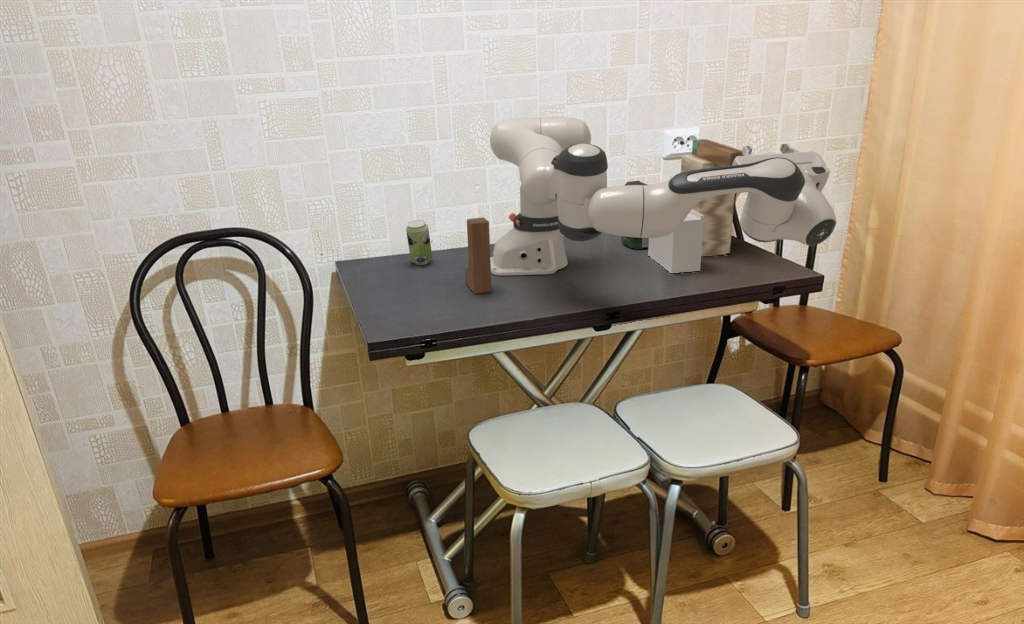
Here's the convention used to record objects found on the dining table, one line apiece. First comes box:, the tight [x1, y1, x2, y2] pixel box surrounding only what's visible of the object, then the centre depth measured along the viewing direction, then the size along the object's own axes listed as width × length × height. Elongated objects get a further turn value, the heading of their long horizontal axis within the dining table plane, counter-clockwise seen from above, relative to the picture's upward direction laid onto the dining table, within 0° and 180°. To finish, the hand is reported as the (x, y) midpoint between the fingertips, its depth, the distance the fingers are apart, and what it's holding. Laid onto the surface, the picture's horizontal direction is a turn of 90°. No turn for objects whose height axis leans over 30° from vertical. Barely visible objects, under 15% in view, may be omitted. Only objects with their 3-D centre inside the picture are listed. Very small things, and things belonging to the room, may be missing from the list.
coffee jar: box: [621, 180, 649, 250], centre depth 215 cm, size 10×8×19 cm
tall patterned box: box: [680, 154, 736, 256], centre depth 208 cm, size 10×13×26 cm
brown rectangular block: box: [691, 138, 744, 167], centre depth 198 cm, size 4×22×4 cm, turn 12°
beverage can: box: [405, 219, 433, 266], centre depth 205 cm, size 6×7×12 cm
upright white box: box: [647, 209, 704, 274], centre depth 199 cm, size 8×16×15 cm, turn 12°
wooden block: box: [464, 217, 492, 295], centre depth 184 cm, size 9×4×18 cm, turn 18°
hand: (764, 147), depth 172 cm, fingers open, 8 cm apart
